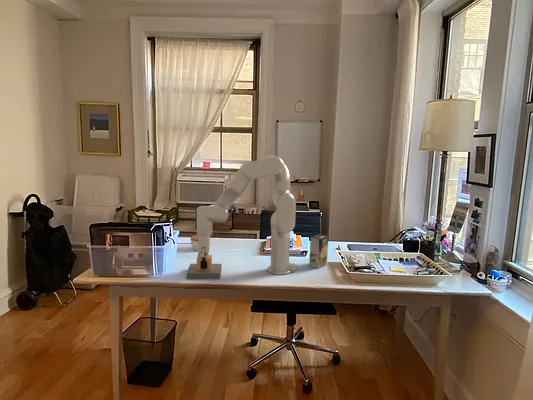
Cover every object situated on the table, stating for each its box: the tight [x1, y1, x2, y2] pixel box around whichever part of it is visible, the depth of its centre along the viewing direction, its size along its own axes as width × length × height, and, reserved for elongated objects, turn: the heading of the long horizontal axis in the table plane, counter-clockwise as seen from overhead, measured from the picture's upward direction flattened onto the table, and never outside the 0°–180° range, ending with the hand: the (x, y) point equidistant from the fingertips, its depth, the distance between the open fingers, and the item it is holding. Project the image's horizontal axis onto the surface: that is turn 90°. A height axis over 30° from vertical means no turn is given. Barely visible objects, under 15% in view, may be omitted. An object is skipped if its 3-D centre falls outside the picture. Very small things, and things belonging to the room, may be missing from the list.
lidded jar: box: [190, 234, 199, 252], centre depth 237 cm, size 11×11×9 cm
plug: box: [196, 254, 213, 270], centre depth 196 cm, size 7×6×8 cm
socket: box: [186, 263, 223, 280], centre depth 196 cm, size 16×14×3 cm
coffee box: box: [309, 234, 329, 269], centre depth 213 cm, size 9×6×16 cm
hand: (204, 266), depth 196 cm, fingers closed on plug, 6 cm apart
